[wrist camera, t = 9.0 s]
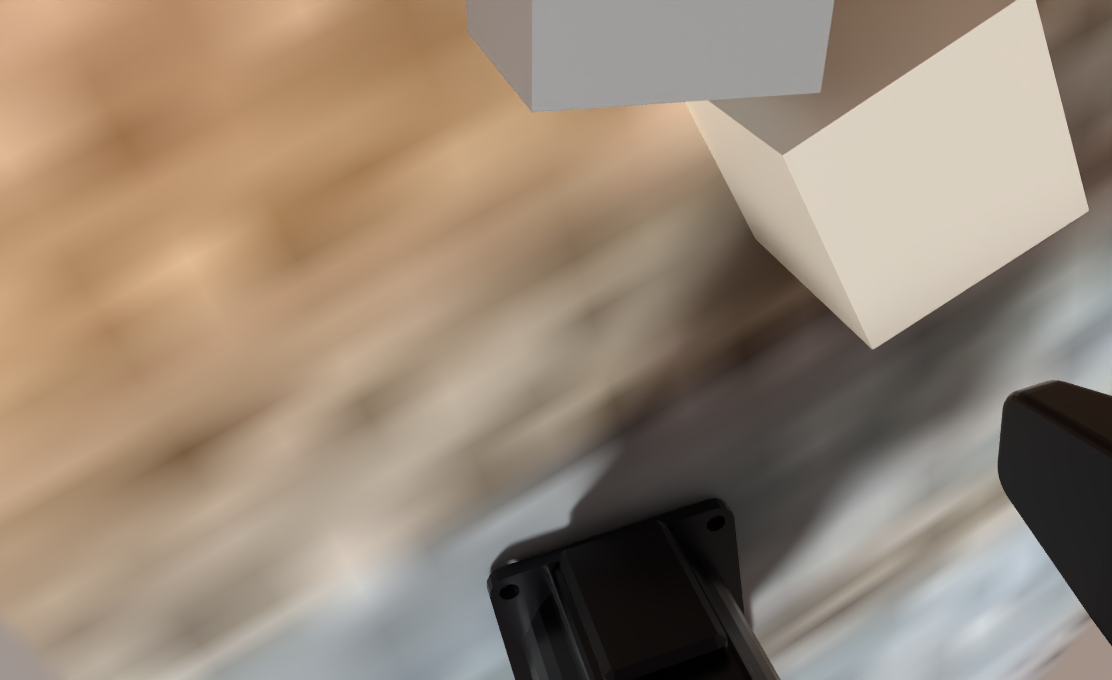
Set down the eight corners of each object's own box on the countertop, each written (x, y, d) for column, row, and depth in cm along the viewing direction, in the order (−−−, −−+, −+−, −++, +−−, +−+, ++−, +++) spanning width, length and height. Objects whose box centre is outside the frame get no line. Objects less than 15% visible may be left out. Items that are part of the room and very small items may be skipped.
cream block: (927, 124, 22) (1089, 210, 17) (754, 238, 22) (872, 349, 18) (862, -61, 19) (1032, -10, 15) (668, 70, 19) (782, 155, 15)
